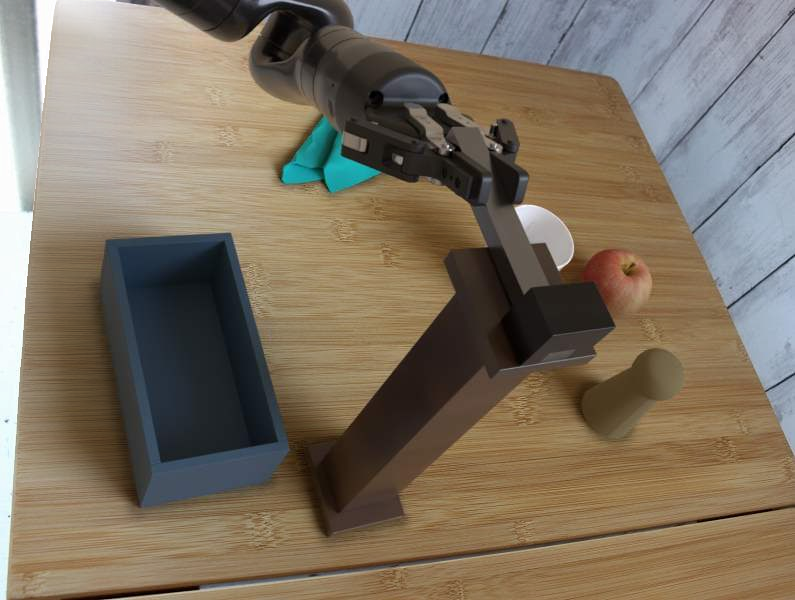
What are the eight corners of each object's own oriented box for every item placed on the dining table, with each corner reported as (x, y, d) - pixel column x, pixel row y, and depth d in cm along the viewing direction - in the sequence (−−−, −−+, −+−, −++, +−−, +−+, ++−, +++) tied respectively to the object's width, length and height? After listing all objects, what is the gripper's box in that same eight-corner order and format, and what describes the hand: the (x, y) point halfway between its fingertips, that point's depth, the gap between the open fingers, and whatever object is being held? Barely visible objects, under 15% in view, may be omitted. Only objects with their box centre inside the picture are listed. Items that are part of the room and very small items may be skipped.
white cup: (531, 273, 95) (577, 223, 87) (522, 328, 91) (570, 280, 83) (469, 246, 94) (510, 192, 86) (457, 300, 89) (500, 248, 81)
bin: (266, 483, 71) (290, 449, 65) (139, 508, 66) (151, 475, 60) (214, 278, 80) (231, 232, 74) (98, 288, 75) (105, 239, 69)
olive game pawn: (589, 376, 90) (650, 327, 82) (636, 406, 91) (701, 360, 82) (574, 418, 87) (635, 371, 78) (622, 449, 87) (689, 406, 78)
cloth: (444, 94, 106) (451, 82, 104) (487, 180, 101) (495, 168, 99) (249, 99, 93) (254, 84, 92) (286, 197, 88) (292, 184, 86)
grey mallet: (581, 357, 48) (616, 327, 45) (519, 367, 46) (552, 336, 43) (484, 141, 55) (509, 103, 52) (426, 141, 53) (449, 101, 50)
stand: (400, 520, 74) (598, 355, 49) (327, 538, 71) (499, 370, 45) (374, 436, 77) (545, 242, 52) (303, 450, 74) (450, 249, 49)
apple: (579, 329, 93) (619, 293, 87) (559, 269, 97) (597, 230, 91) (636, 330, 97) (679, 295, 90) (615, 272, 100) (655, 235, 94)
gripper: (297, 45, 58) (412, 129, 45) (466, 54, 64) (610, 130, 51) (287, 149, 61) (391, 255, 48) (448, 148, 68) (578, 241, 55)
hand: (503, 190), depth 50 cm, fingers closed on grey mallet, 2 cm apart
